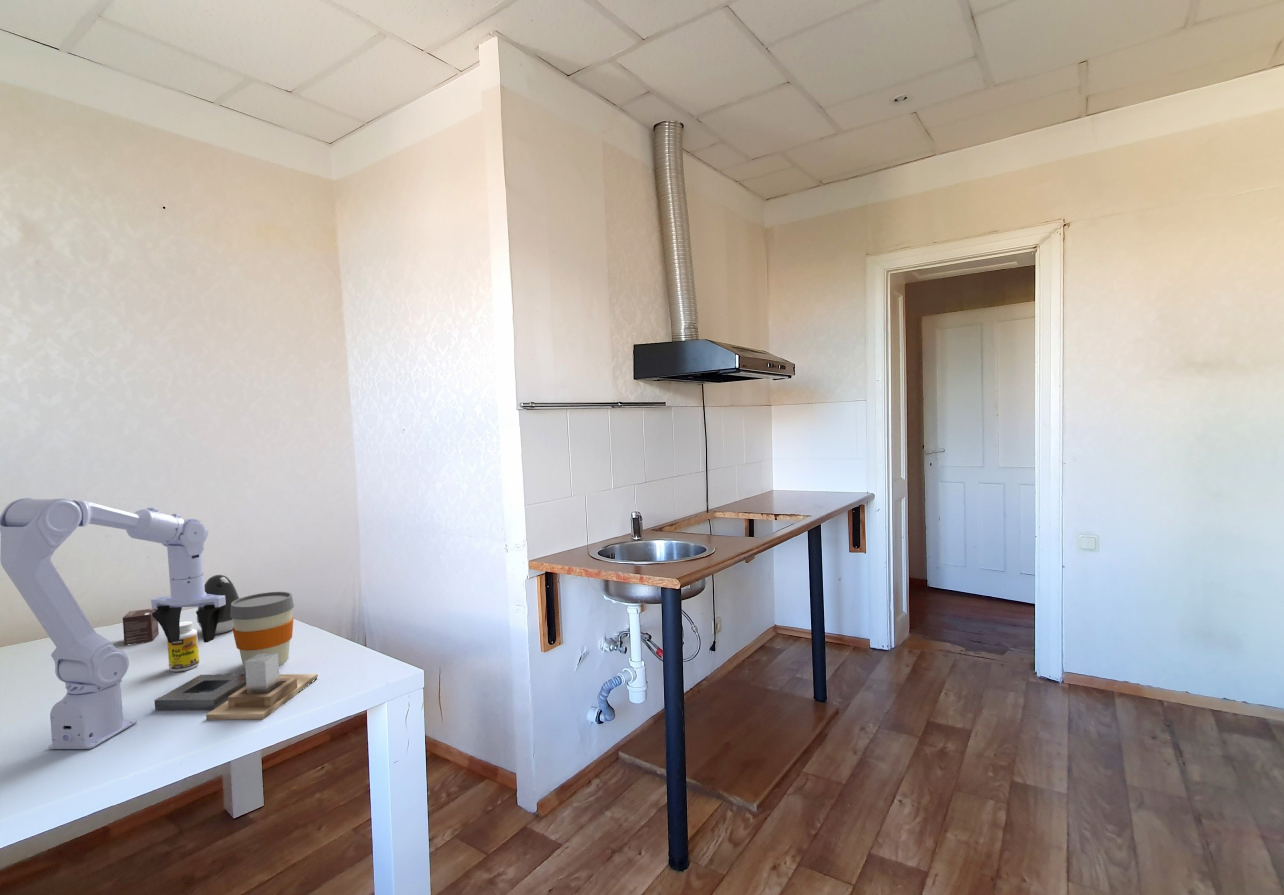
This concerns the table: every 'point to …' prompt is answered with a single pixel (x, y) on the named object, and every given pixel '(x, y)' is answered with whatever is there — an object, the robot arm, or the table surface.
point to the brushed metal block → (262, 673)
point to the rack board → (261, 699)
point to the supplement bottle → (184, 649)
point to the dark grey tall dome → (225, 587)
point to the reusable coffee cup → (263, 624)
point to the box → (140, 626)
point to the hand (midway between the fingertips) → (191, 641)
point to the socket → (194, 700)
